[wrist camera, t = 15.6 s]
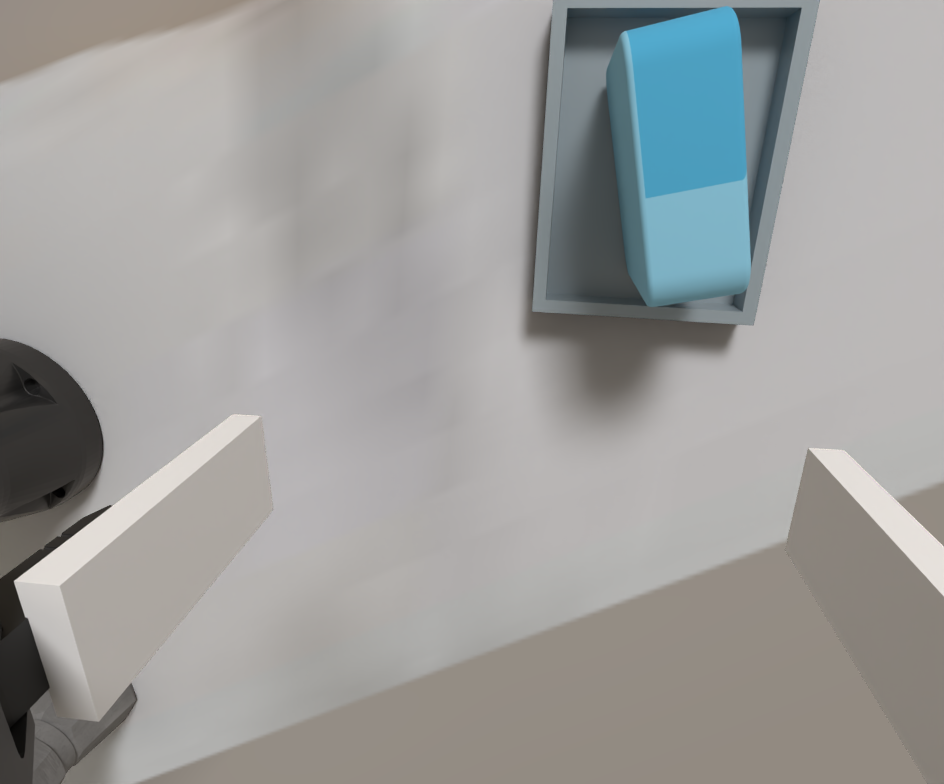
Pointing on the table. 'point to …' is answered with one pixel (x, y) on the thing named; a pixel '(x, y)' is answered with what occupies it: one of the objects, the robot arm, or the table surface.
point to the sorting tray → (592, 158)
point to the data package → (682, 157)
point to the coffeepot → (70, 736)
